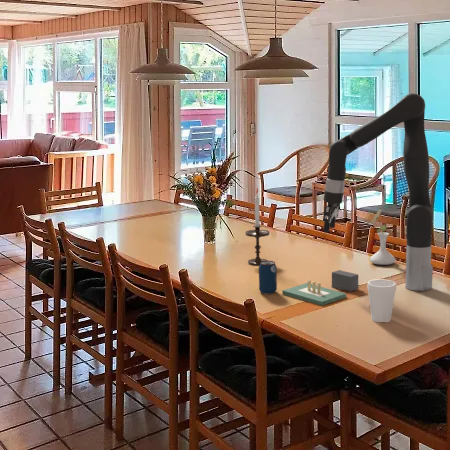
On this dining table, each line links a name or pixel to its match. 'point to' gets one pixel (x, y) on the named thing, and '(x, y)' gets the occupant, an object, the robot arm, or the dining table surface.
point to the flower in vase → (382, 246)
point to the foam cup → (381, 299)
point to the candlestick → (257, 234)
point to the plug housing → (345, 280)
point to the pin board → (314, 293)
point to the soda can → (267, 277)
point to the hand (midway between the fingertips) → (328, 229)
